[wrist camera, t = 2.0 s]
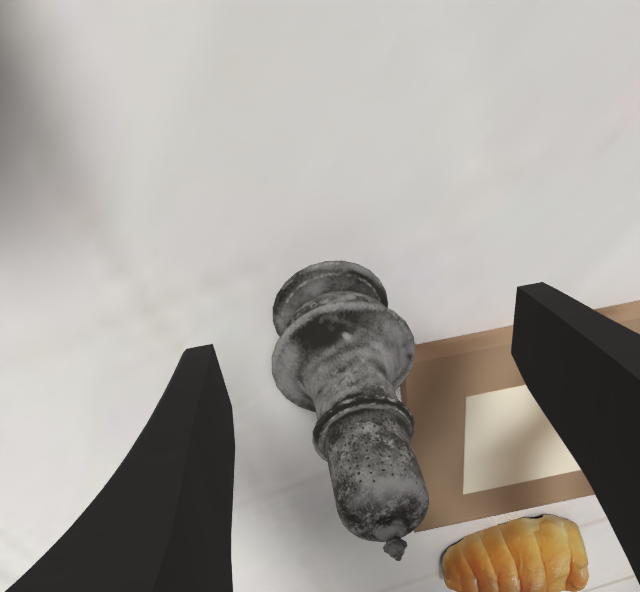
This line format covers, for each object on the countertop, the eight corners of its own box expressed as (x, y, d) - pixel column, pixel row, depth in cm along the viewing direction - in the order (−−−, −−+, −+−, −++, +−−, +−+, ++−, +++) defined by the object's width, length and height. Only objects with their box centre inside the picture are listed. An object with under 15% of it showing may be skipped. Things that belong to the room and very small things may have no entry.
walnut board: (671, 294, 28) (689, 309, 27) (621, 470, 36) (633, 487, 35) (398, 348, 27) (405, 365, 26) (409, 515, 35) (414, 534, 34)
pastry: (437, 581, 41) (455, 635, 38) (438, 527, 37) (458, 583, 34) (560, 555, 41) (588, 607, 38) (573, 499, 37) (605, 552, 34)
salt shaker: (357, 372, 28) (432, 622, 18) (246, 342, 26) (261, 607, 16) (416, 277, 25) (542, 511, 15) (297, 236, 23) (353, 475, 13)
